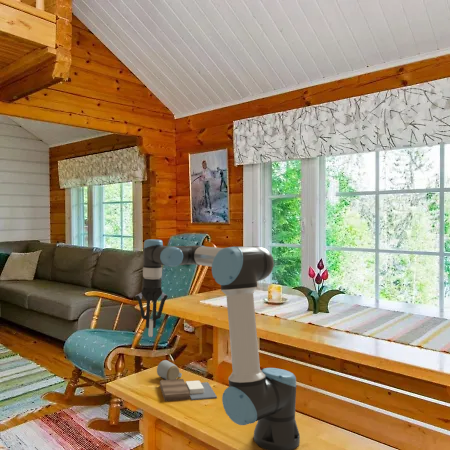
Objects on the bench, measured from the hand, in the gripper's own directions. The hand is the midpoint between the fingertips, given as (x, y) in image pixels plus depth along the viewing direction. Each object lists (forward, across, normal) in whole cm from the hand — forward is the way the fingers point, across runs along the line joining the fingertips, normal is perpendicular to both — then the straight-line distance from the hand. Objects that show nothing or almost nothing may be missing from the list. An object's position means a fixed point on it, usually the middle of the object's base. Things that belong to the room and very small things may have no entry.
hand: (150, 335), depth 180 cm
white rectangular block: (+24, -19, -2) cm, 31 cm away
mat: (+25, -22, -1) cm, 33 cm away
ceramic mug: (+25, -11, -18) cm, 33 cm away
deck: (+25, -11, -2) cm, 27 cm away
